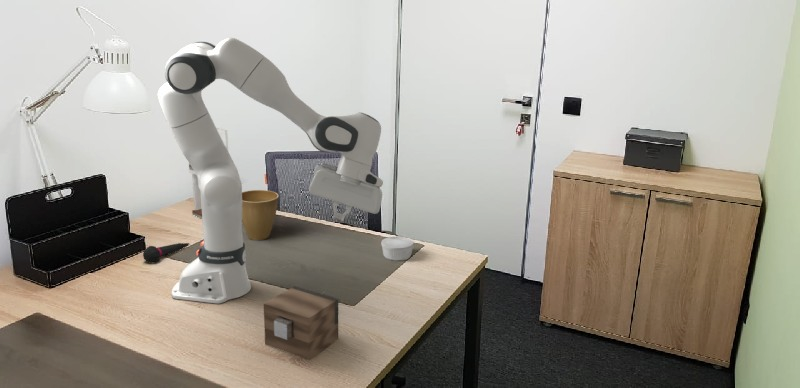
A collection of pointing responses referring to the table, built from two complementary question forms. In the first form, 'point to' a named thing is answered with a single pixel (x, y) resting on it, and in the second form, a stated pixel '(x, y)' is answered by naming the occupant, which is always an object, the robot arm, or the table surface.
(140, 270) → the table surface
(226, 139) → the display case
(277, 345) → the block
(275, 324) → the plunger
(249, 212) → the plant pot
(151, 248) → the microphone
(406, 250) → the ramekin
